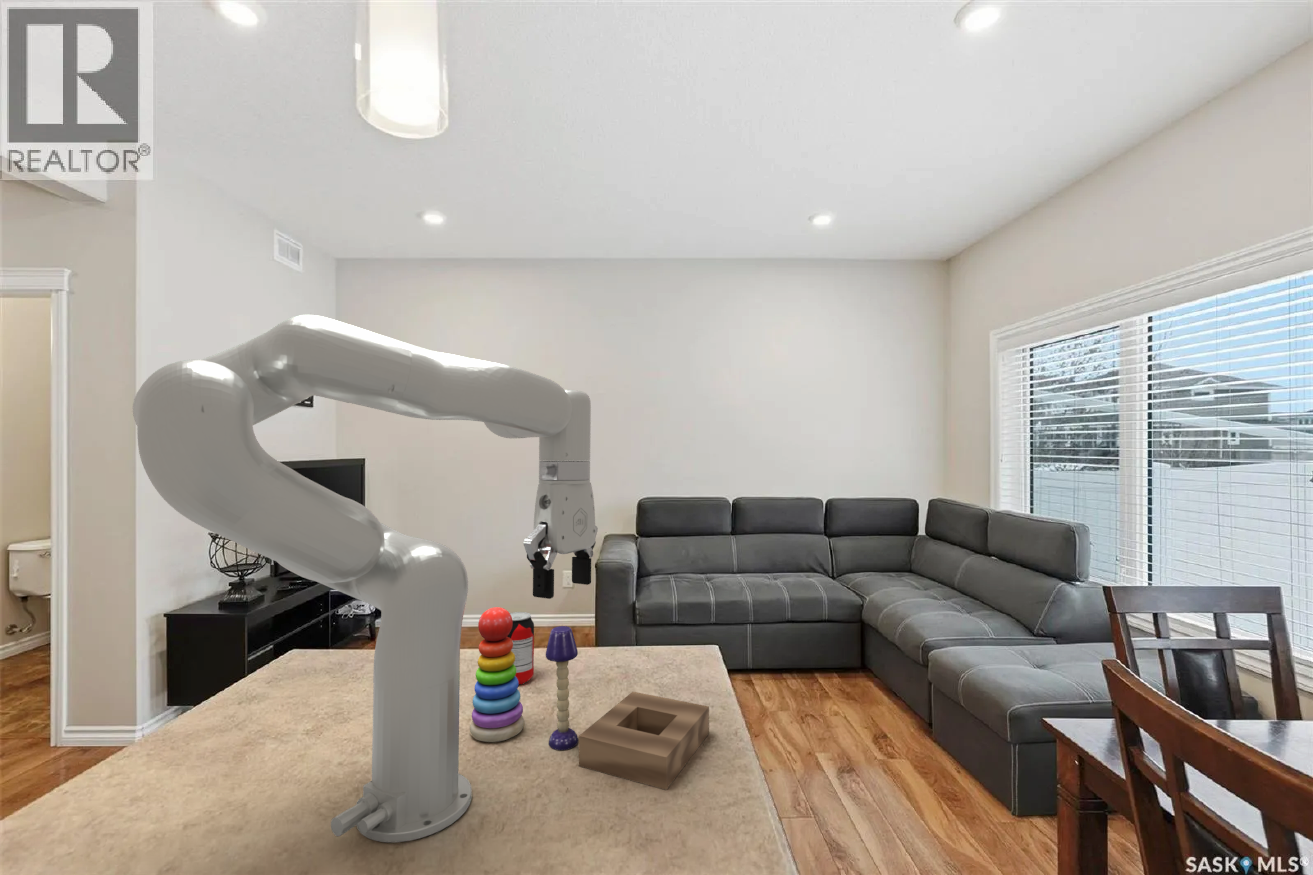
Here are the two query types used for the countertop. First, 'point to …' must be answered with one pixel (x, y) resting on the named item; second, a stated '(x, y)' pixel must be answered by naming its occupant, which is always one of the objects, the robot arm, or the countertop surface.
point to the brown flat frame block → (645, 739)
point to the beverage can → (523, 645)
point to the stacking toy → (496, 681)
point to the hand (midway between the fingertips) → (563, 590)
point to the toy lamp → (562, 684)
